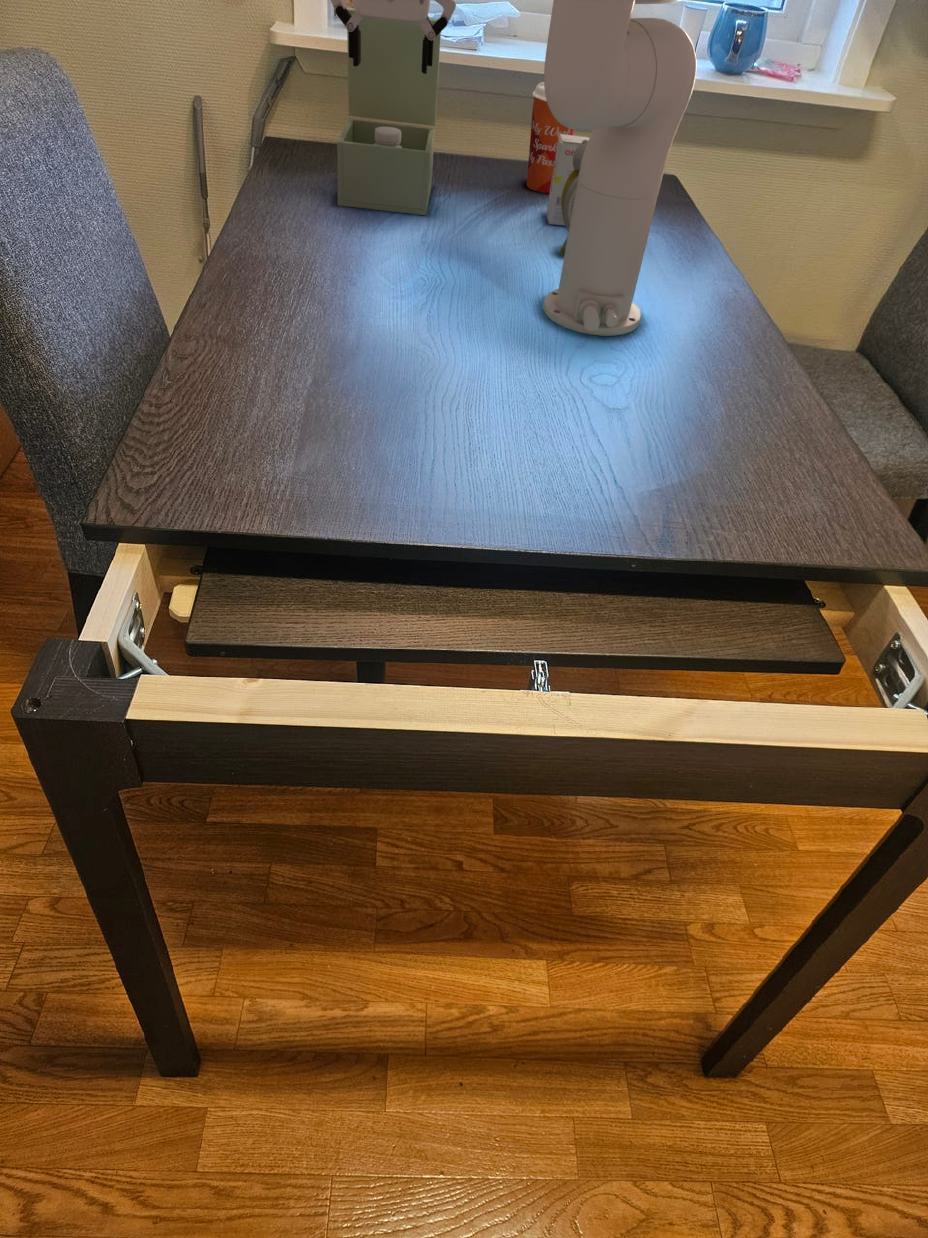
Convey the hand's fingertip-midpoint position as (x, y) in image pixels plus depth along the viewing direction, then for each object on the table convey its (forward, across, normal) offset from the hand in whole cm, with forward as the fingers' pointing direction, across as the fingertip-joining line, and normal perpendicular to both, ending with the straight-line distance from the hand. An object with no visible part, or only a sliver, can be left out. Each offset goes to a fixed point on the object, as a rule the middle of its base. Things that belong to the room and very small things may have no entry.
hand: (390, 68), depth 120 cm
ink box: (+19, +29, +1) cm, 35 cm away
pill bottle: (+17, 0, +2) cm, 18 cm away
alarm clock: (+19, +32, -12) cm, 39 cm away
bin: (+18, -1, +3) cm, 18 cm away
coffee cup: (+18, +25, +17) cm, 36 cm away
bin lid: (+2, 0, +8) cm, 8 cm away
